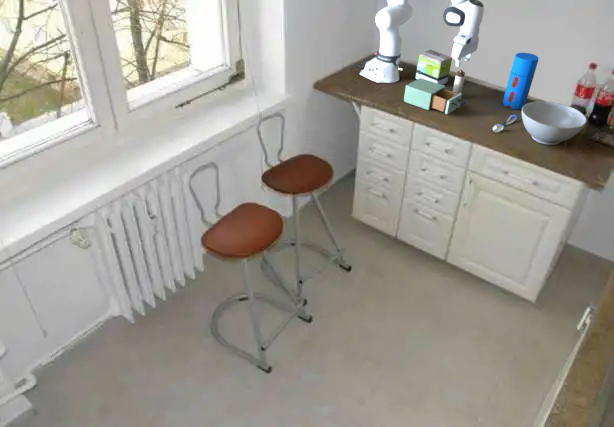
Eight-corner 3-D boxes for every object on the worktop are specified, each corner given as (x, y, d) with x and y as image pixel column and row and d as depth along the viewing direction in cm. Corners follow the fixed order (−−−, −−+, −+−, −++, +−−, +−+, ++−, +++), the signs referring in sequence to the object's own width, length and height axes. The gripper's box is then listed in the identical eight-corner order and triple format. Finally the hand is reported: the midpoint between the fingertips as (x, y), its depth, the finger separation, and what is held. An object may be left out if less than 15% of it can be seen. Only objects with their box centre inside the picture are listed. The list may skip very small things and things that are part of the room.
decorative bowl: (530, 119, 251) (537, 96, 244) (586, 139, 236) (596, 114, 229) (504, 137, 235) (511, 113, 228) (563, 159, 221) (572, 134, 213)
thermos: (498, 104, 264) (511, 56, 249) (508, 98, 270) (521, 50, 255) (518, 111, 258) (533, 62, 243) (528, 105, 264) (542, 56, 249)
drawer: (467, 109, 256) (470, 96, 252) (455, 117, 249) (457, 104, 245) (435, 98, 266) (438, 85, 262) (422, 105, 258) (425, 93, 254)
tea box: (414, 79, 288) (418, 52, 279) (426, 74, 293) (430, 48, 285) (436, 87, 279) (441, 60, 270) (447, 83, 284) (453, 56, 276)
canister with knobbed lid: (449, 96, 270) (455, 69, 261) (454, 94, 273) (459, 67, 264) (457, 99, 268) (463, 72, 259) (462, 96, 270) (467, 70, 262)
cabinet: (442, 102, 265) (445, 85, 260) (428, 110, 256) (431, 93, 251) (417, 93, 272) (420, 77, 267) (403, 101, 264) (405, 85, 259)
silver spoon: (511, 109, 250) (520, 112, 247) (509, 116, 252) (519, 119, 250) (491, 125, 239) (501, 128, 236) (489, 132, 241) (499, 135, 239)
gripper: (472, 29, 260) (466, 56, 268) (452, 38, 247) (446, 67, 255) (484, 32, 256) (477, 60, 265) (464, 42, 244) (457, 70, 252)
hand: (462, 63), depth 260 cm, fingers open, 8 cm apart
